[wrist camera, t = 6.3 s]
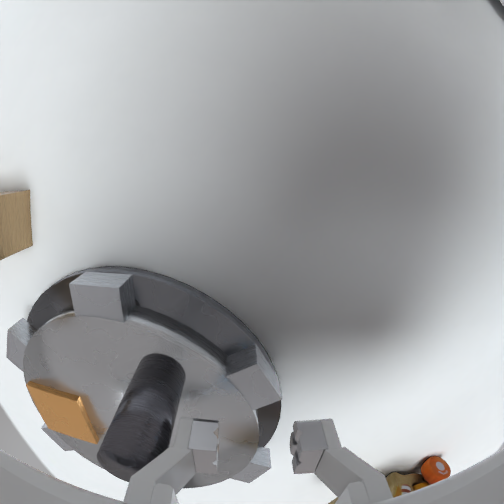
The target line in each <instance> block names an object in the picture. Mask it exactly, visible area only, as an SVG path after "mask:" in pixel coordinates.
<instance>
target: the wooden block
mask: <svg viewBox="0 0 504 504" xmlns="http://www.w3.org/2000/svg"><path fill="white" fill-rule="evenodd" d="M31 246H33V243H32V231H31V214H30V190H24V191H7V192H0V260H2V259H4V258H6V257H8V256H10V255H13V254H15V253H17V252H19V251H21V250H24V249H26V248H28V247H31Z"/></svg>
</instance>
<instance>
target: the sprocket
mask: <svg viewBox="0 0 504 504" xmlns="http://www.w3.org/2000/svg"><path fill="white" fill-rule="evenodd" d="M69 287H70V292H71V298H72V303H73V305H71V306H69V307H67V308H65V309H63V310H61V311H59V312H58V313H57V314H56V315H54V316H53V317H52V318H51V319H50V320H48V321H47V322H46V323H45V324H44V325H43V326H42V327H41V328H39V329H38V330H37V329H36V328H35V327H33V326H32V325H31V324H30V323H29V322H27V321H26V320H25V319H24V318H22V319H21V320H19V321H18V322H17V323H16V324H14V325H13V326H12V327H11V328H10V329H8V335H7V358H8V359H9V360H10V361H11V362H12V363H13V364H15V365H16V366H17V367H18V368H19V369H21V370H22V371H23V372H24V377H25V382H26V386H27V389H28V392H29V394H30V396H31V398H32V401H33V403H34V404H35V406H36V408H37V410H38V411H39V413H40V414H41V416H42V418H43V420H44V422H45V423H44V425H43V427H42V428H41V429H42V430H43V431H44V432H45V433H46V434H47V435H48V436H49V437H51V438H52V439H53V440H54V441H55V442H56V443H57V444H58V445H59V446H60V447H61V448H62V449H63V450H64V451H70V450H75V451H76V452H77V453H79V454H80V455H81V456H83V457H84V458H86V459H88V460H89V461H91V462H92V463H94V464H96V465H98V466H99V467H101V468H103V469H105V470H107V471H108V472H109V473H111V474H113V475H114V476H116V477H118V478H120V479H122V480H124V481H127V482H129V481H130V478H131V476H132V475H134V474H135V473H136V472H138V471H139V470H140V469H142V468H143V467H144V466H146V465H147V464H148V463H150V462H151V461H152V460H154V459H155V458H156V457H157V456H159V455H160V454H161V453H163V452H164V451H165V450H166V449H168V448H169V447H174V442H175V438H176V433H177V429H178V424H179V420H180V418H181V417H189V418H198V419H207V420H217V421H219V453H218V470H217V474H211V473H197V472H196V474H195V475H194V476H193V477H192V478H191V479H190V480H189V481H188V483H187V484H186V485H185V486H184V487H183V488H195V487H203V486H208V485H212V484H216V483H219V482H222V481H224V480H226V479H229V478H231V479H235V480H239V481H243V482H247V483H250V482H252V481H253V480H255V479H256V478H257V477H259V476H260V475H262V474H263V473H265V472H266V471H267V470H269V469H270V468H271V461H270V450H269V449H268V448H264V447H261V446H258V443H259V427H258V411H257V409H258V408H261V407H263V406H266V405H269V404H271V403H274V402H277V401H279V400H282V396H281V390H280V384H279V378H278V377H277V375H276V374H275V372H274V371H273V369H272V368H271V366H270V365H269V363H268V362H267V360H266V358H265V357H264V355H263V354H262V352H261V351H260V349H259V348H258V346H257V345H256V344H253V345H251V346H249V347H247V348H244V349H242V350H240V351H238V352H235V353H233V354H231V355H228V356H227V355H226V354H225V353H224V352H223V351H222V350H221V349H220V348H219V347H218V346H216V345H215V344H214V343H212V342H211V341H210V340H208V339H207V338H206V337H204V336H203V335H202V334H200V333H198V332H197V331H195V330H193V329H192V328H190V327H188V326H187V325H185V324H183V323H181V322H179V321H177V320H175V319H173V318H171V317H169V316H167V315H164V314H161V313H159V312H156V311H153V310H151V309H148V308H144V307H141V306H137V305H136V302H135V293H134V284H133V274H116V273H99V272H85V273H83V274H82V275H80V276H79V277H78V278H76V279H75V280H73V281H72V282H71V283H69Z"/></svg>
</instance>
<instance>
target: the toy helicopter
mask: <svg viewBox="0 0 504 504" xmlns="http://www.w3.org/2000/svg"><path fill="white" fill-rule="evenodd" d="M450 472H451V471H450V467H449V465H448V464H447V463H446V462H445V461H444V460H443V459H442V458H440V457H437V456H433V457H430V458H429V459H427V460H426V461H425V462H424V463H423V465H422V467H421V474H407V475H401V474H399V473H397V472H393V473H391V474H390V475H388V476H387V477H386V481H387V483H388V486H389V488H390V491H391V494H392V496H393V498H394V497H397V496H401V495H404V494H407V493H410V492H413V491H415V490H418V489H421V488H424V487H426V486H429V485H431V484H434V483H436V482H439V481H441V480H444V479H446V478H448V477H449V476H450ZM337 500H338V497H337V498H335V499H334V500H333V501H331V502H330V503H328V504H335V502H336V501H337Z"/></svg>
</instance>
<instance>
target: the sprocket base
mask: <svg viewBox="0 0 504 504" xmlns="http://www.w3.org/2000/svg"><path fill="white" fill-rule="evenodd" d="M85 272H99V273H116V274H133V284H134V293H135V302H136V305H137V306H141V307H144V308H148V309H151V310H153V311H156V312H159V313H161V314H164V315H167V316H169V317H171V318H173V319H175V320H177V321H179V322H181V323H183V324H185V325H187V326H188V327H190V328H192V329H193V330H195V331H197V332H198V333H200V334H202V335H203V336H204V337H206V338H207V339H208V340H210V341H211V342H212V343H214V344H215V345H216V346H218V347H219V348H220V349H221V350H222V351H223V352H224V353H225V354H226V355H227V356H228V355H231V354H233V353H235V352H238V351H240V350H242V349H244V348H247V347H249V346H251V345H253V344H256V345H257V346H258V348H259V349H260V351H261V352H262V354H263V355H264V357H265V358H266V360H267V362H268V363H269V365H270V366H271V368H272V369H273V371H274V372H275V369H274V366H273V364H272V362H271V360H270V358H269V356H268V354H267V352H266V351H265V349H264V348H263V346H262V345H261V343H260V342H259V340H258V339H257V338H256V337H255V335H254V334H253V333H252V332H251V331H250V330H249V329H248V328H247V326H246V325H245V324H244V323H243V322H242V321H240V320H239V319H238V318H237V317H236V316H235V315H234V314H232V313H231V312H230V311H229V310H228V309H226V308H225V307H224V306H222V305H221V304H219V303H218V302H216V301H215V300H213V299H212V298H211V297H209V296H207V295H205V294H204V293H202V292H200V291H198V290H196V289H194V288H193V287H191V286H189V285H187V284H184V283H182V282H179V281H177V280H175V279H172V278H170V277H167V276H164V275H160V274H157V273H153V272H150V271H147V270H141V269H135V268H128V267H98V268H90V269H86V270H82V271H79V272H76V273H73V274H71V275H69V276H67V277H65V278H63V279H61V280H60V281H58V282H57V283H55V284H54V285H52V286H51V287H50V288H49V289H48V290H46V291H45V292H44V293H43V294H42V295H41V296H40V297H39V299H38V300H37V301H36V302H35V304H34V306H33V308H32V310H31V312H30V314H29V316H28V320H27V322H29V323H30V324H31V325H32V326H33V327H35V328H36V329H37V330H38V329H39V328H41V327H42V326H43V325H44V324H45V323H46V322H47V321H48V320H50V319H51V318H52V317H53V316H54V315H56V314H57V313H58V312H59V311H61V310H63V309H65V308H67V307H69V306H71V305H73V303H72V298H71V292H70V287H69V283H71V282H72V281H73V280H75V279H76V278H78V277H79V276H80V275H82V274H83V273H85ZM275 374H276V372H275ZM257 411H258V427H259V443H258V446H261V447H264V446H265V445H266V444H267V443H268V442H269V440H270V439H271V437H272V436H273V434H274V432H275V430H276V428H277V425H278V422H279V419H280V412H281V400H279V401H277V402H274V403H271V404H269V405H266V406H263V407H261V408H258V409H257Z"/></svg>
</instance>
